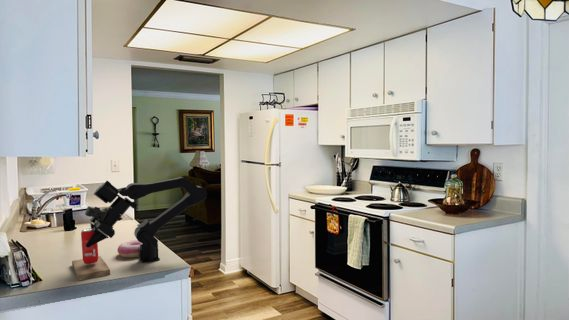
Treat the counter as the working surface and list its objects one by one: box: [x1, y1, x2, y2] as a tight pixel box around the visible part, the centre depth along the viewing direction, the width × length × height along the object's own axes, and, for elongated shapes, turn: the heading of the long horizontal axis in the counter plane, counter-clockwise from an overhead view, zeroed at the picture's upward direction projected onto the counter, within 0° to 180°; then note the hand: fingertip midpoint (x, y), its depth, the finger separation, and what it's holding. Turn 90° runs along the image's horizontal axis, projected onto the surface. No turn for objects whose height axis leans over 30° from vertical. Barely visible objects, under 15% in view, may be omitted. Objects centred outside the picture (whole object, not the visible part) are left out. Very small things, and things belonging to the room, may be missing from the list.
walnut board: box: [71, 255, 111, 281], centre depth 148 cm, size 10×20×2 cm, turn 33°
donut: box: [117, 239, 142, 258], centre depth 167 cm, size 14×13×5 cm
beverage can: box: [80, 227, 99, 264], centre depth 148 cm, size 5×5×12 cm
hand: (85, 245), depth 147 cm, fingers closed on beverage can, 5 cm apart
